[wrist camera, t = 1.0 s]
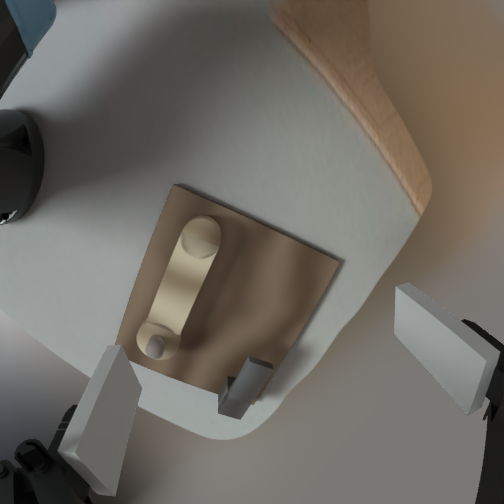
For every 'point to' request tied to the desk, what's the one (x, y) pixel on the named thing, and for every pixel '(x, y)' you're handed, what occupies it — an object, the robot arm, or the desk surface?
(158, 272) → the keeper board
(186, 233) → the link
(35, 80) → the desk surface
